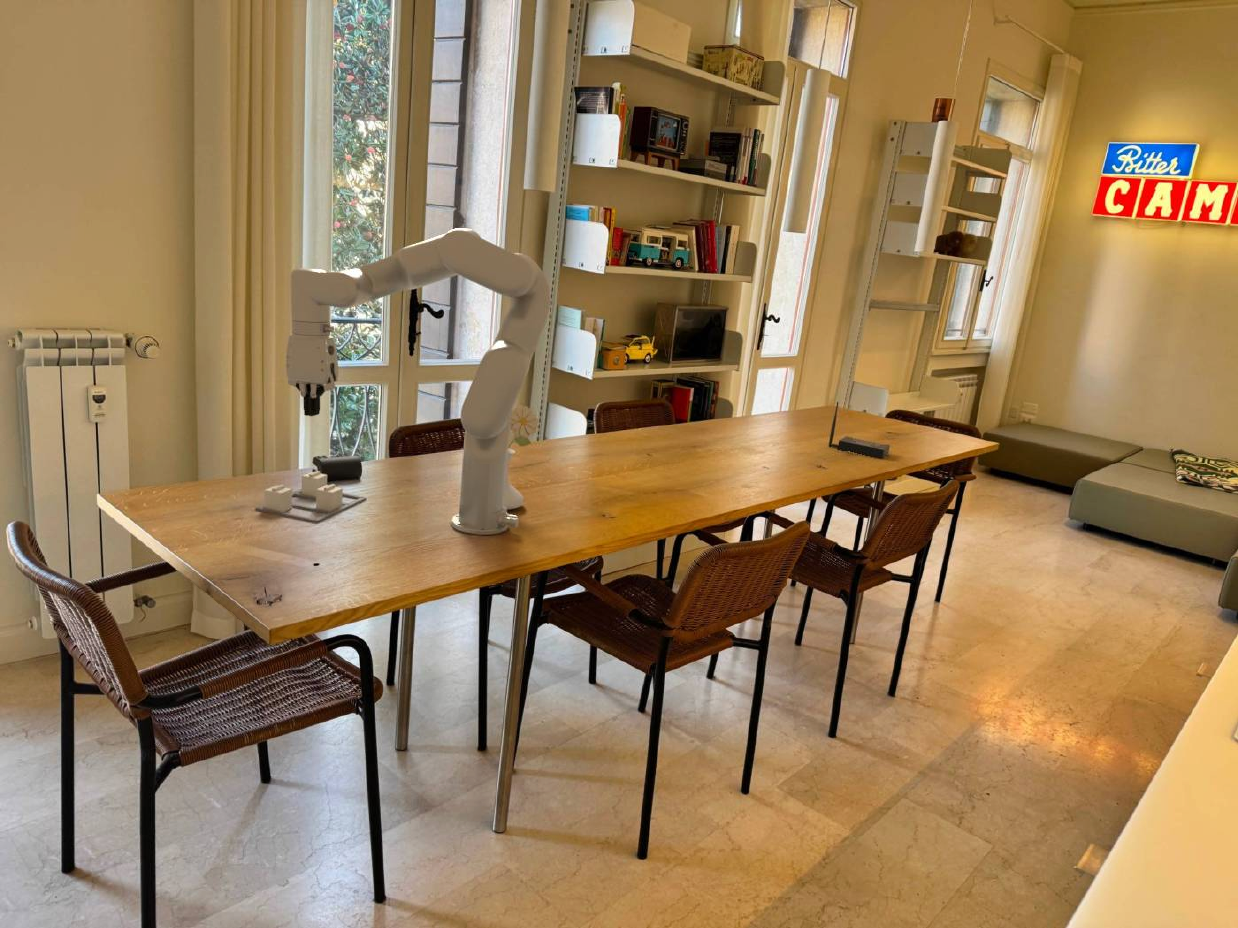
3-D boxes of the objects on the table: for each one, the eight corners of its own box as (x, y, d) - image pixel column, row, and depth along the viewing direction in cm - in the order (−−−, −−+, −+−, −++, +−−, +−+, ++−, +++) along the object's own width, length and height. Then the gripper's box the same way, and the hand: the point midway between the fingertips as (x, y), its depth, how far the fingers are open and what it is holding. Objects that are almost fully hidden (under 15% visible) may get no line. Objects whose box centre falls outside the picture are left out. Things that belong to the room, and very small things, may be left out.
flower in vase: (479, 513, 202) (486, 408, 196) (473, 498, 213) (480, 397, 206) (534, 514, 206) (543, 411, 200) (526, 499, 217) (535, 401, 210)
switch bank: (368, 505, 199) (368, 497, 198) (319, 529, 181) (319, 521, 181) (291, 489, 204) (291, 482, 203) (236, 511, 186) (236, 503, 185)
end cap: (322, 489, 206) (322, 462, 205) (310, 481, 212) (310, 454, 210) (362, 485, 213) (363, 458, 211) (349, 477, 218) (350, 451, 216)
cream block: (291, 508, 188) (292, 486, 186) (280, 513, 184) (281, 490, 183) (275, 504, 189) (275, 482, 187) (264, 509, 185) (264, 487, 184)
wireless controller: (888, 454, 317) (898, 408, 312) (880, 461, 305) (890, 413, 300) (834, 443, 325) (843, 398, 321) (825, 449, 313) (833, 402, 309)
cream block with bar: (326, 493, 200) (327, 472, 199) (316, 497, 196) (317, 476, 195) (311, 490, 201) (311, 469, 200) (301, 494, 197) (301, 473, 196)
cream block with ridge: (342, 507, 192) (342, 485, 191) (332, 511, 188) (332, 489, 187) (326, 503, 193) (326, 482, 192) (315, 508, 189) (316, 486, 188)
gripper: (352, 331, 184) (352, 416, 189) (290, 324, 187) (292, 407, 192) (332, 334, 177) (332, 422, 182) (268, 327, 180) (270, 413, 185)
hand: (312, 414), depth 187 cm, fingers closed
